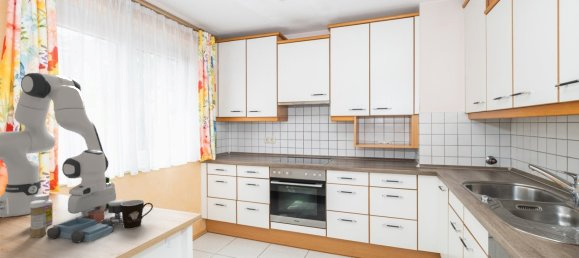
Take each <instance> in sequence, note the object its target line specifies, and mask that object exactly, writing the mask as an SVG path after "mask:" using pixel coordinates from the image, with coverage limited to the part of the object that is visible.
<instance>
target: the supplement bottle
mask: <svg viewBox="0 0 579 258" xmlns="http://www.w3.org/2000/svg"><path fill="white" fill-rule="evenodd" d="M37 200H45V201H46V207H45V210H46V227H47V226H50V225H52V223H53V204H54V203H53V200H51V199H50V193H43V194H39V195H36V196H35V201H37Z"/></svg>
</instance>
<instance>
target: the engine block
mask: <svg viewBox="0 0 579 258" xmlns="http://www.w3.org/2000/svg"><path fill="white" fill-rule="evenodd" d="M87 214H88V215H90V219H93V220H96V224H98V223H99V222H102V221H104V220H105V210H104V211H101V209H94V208H93V209H90V210H88V212H87ZM82 217H84V216H83V215H82Z"/></svg>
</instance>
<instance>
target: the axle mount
mask: <svg viewBox="0 0 579 258" xmlns="http://www.w3.org/2000/svg"><path fill="white" fill-rule="evenodd" d="M109 219H110V220H112V222H113V226H114V225H120V224H121V225H122V224H123V217H122V212H120V213H114V216H111V217H109Z"/></svg>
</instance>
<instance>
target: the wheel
mask: <svg viewBox="0 0 579 258" xmlns="http://www.w3.org/2000/svg"><path fill="white" fill-rule="evenodd" d="M125 201H127V199H116V200H114V201H111V202H109V205H108V208H107V209H108V210H107V211H108V212H107V213H109V214H115V213H120V212H121V213H122V210H121V203H123V202H125Z"/></svg>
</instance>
